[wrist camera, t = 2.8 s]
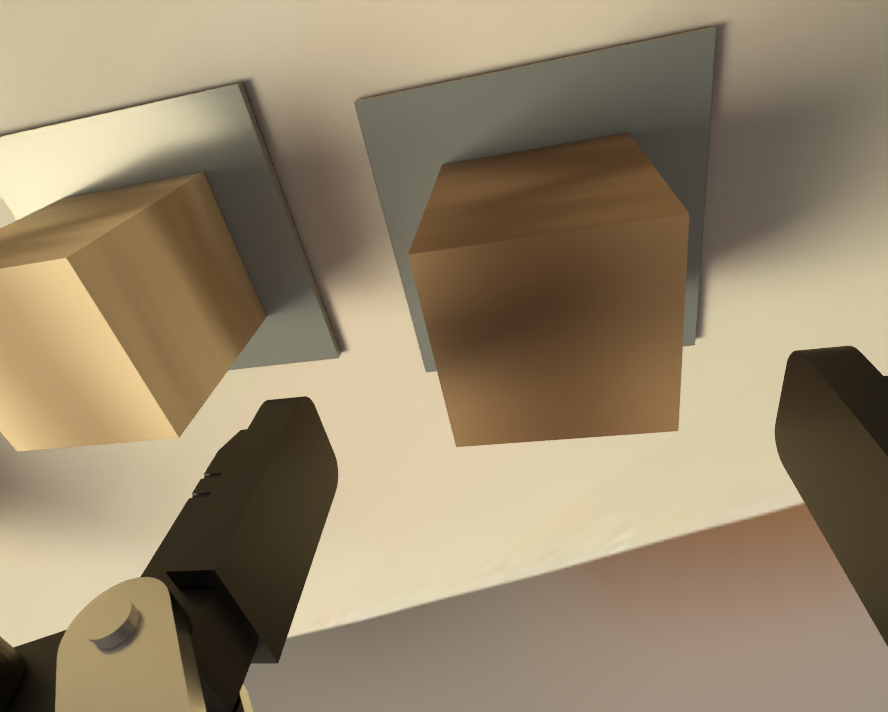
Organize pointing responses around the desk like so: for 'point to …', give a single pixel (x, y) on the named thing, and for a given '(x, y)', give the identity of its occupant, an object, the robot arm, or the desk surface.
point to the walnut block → (555, 293)
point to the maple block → (119, 314)
